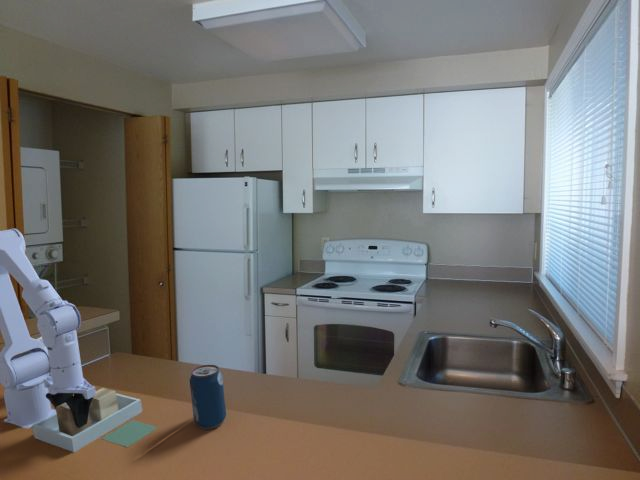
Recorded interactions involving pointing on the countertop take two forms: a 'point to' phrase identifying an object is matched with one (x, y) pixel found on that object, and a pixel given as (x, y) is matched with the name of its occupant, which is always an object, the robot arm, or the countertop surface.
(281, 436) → the countertop surface
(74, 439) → the bin
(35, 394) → the robot arm
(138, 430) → the mat
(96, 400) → the birch block
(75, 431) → the brown wooden block
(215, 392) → the soda can
